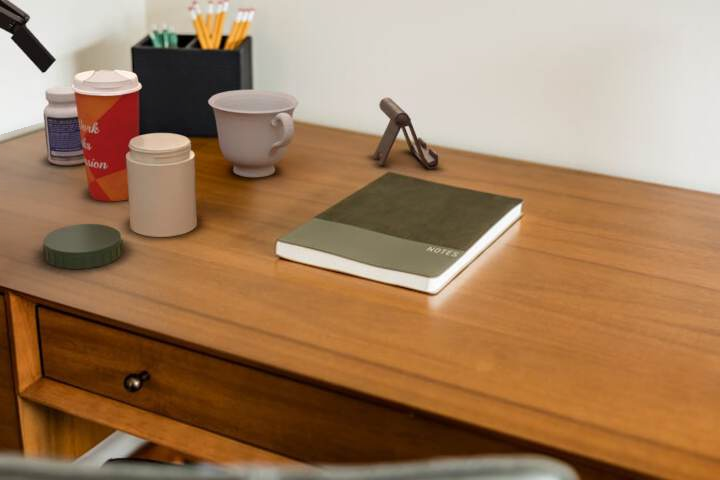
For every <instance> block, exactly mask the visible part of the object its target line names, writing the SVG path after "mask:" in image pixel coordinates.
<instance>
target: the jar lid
mask: <svg viewBox="0 0 720 480" xmlns="http://www.w3.org/2000/svg"><path fill="white" fill-rule="evenodd" d="M42 242H43V244H42V248H43V256H44V260H45V261H46V262H47V263H48V264H49V265H52V266H54V267H57V268H61V269H66V270H86V269H87V270H88V269H93V268H99V267H102V266H103V267H104V266H105V265H108V264H111V263H113V262H115V261H117V260H118V259H119V258H120V257H121V255H122V254H123V251H124V249H123V238H122V235H121V232H120V231H119V230H118V229H117V228H115V227H112V226H109V225H104V224H100V223H99V224H98V223H81V224H72V225H67V226H63V227H59V228H57V229H53V230H52V231H50V232H48V234H46V235H45V236H44V237H43V240H42Z"/></svg>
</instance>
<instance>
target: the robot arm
mask: <svg viewBox="0 0 720 480" xmlns="http://www.w3.org/2000/svg"><path fill="white" fill-rule="evenodd" d="M30 19H31V16H30V15H29V13H27V12H26V11H24V10H22V8H20V7H18V6H17V5H16V4H14V3H13V2H12V1H10V0H0V29H2V30H3V31H5V32H6V33H9V34H11V35H12V36H10V39H11V40H12V41H13V43H14V44H15V45H16V46H17V47H18V48H19V49H20V50H21V51H22V52H23V53H24V54H25V56H26V57H27V58H28V59H29V60H30V61H31V62H32V63H33V64H34V66H35V67H36V68H37V69H38V70H39V71H40V72H41V73H42V74H44V73H46V72H47V71H48V70H49V69H50V68H51V66H52V65H54V63H55V62H56V61H57V59H56V58H55V57H54V56H53V54H52V53H51V52H50V51H49V50H48V49H47V48H46V47H45V46H44V44H42V42H41V41H40V40H39V39H38V38H37V37H36V36H35V34H34V32H32V30H30V29H29V27H28V26H27V23H28V22H29V21H30Z"/></svg>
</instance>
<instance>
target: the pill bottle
mask: <svg viewBox="0 0 720 480" xmlns="http://www.w3.org/2000/svg"><path fill="white" fill-rule="evenodd" d="M71 87H72V86H55V87H50V88H47V89H45V92H44V93H45V99H46V101H47V102H48V104H47V105H46V106H45V107H44V109H43V123H44V132H45V133H44V134H45V144H46V153H47V154H46V155H47V160H48V161H49V162H50V163H51V164H54V165H57V166H76V165H81V164H85V161H84V154H83V147H82V141H81V134H80V127H79V120H78V113H77V106H76V99H75V92H74V91H72V90H71Z"/></svg>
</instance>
